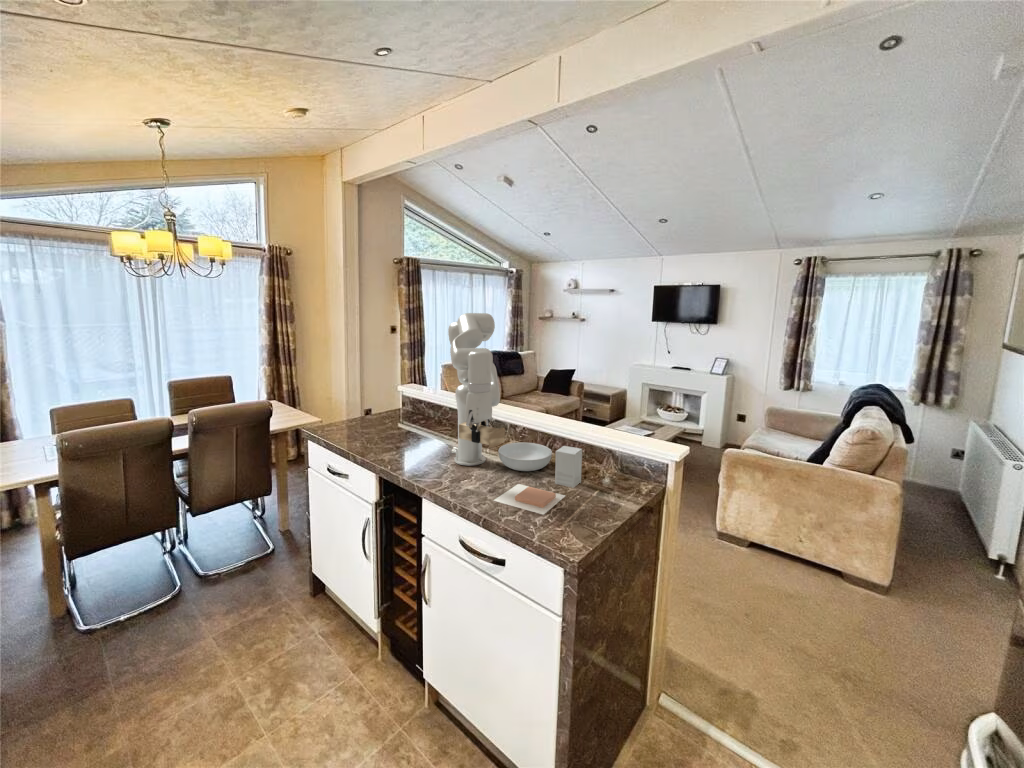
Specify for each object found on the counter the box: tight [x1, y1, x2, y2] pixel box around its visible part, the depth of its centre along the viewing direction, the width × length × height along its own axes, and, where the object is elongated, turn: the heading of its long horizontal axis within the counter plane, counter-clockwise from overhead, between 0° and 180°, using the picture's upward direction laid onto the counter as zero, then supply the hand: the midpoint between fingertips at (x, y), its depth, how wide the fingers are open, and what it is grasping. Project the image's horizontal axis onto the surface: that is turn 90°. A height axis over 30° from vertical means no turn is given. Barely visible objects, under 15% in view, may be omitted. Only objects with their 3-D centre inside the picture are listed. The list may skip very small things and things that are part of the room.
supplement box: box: [554, 445, 583, 489], centre depth 155 cm, size 7×7×13 cm
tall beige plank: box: [459, 422, 506, 449], centre depth 149 cm, size 15×8×5 cm, turn 59°
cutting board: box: [492, 483, 566, 516], centre depth 142 cm, size 18×16×1 cm
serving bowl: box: [497, 441, 553, 472], centre depth 171 cm, size 21×21×7 cm
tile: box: [515, 486, 556, 508], centre depth 141 cm, size 2×9×10 cm
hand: (479, 440), depth 149 cm, fingers closed on tall beige plank, 3 cm apart
